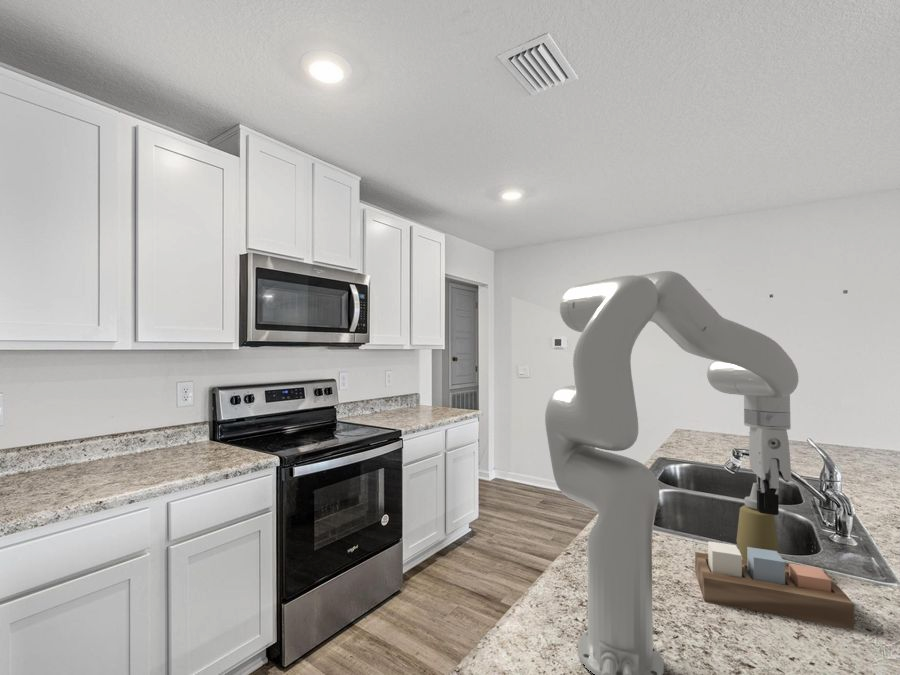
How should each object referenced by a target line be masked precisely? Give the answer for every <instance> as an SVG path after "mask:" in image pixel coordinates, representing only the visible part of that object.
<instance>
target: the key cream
mask: <svg viewBox="0 0 900 675" xmlns="http://www.w3.org/2000/svg"><path fill="white" fill-rule="evenodd" d="M707 554H708V567H709V570H710V572H713V573H719V574H725V575H731V576H737V577H742V555H741V553H740V551H739V548H738V545H735V544H730V543H725V542H724V543H721V542H717V541H707Z"/></svg>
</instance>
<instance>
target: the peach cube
mask: <svg viewBox="0 0 900 675" xmlns="http://www.w3.org/2000/svg"><path fill="white" fill-rule="evenodd" d="M788 566H789V578H790V579H791V581H792V582H793V583H794V585H795V586H796V587H802V588H808V589H814V590H820V591H826V592H831V580H830V579H829V578H828V576H827V575H826V574H825V573H824V572H825V571H823V570H822V569H821V568H820V567H815V566H809V565H802V564H796V563H788Z"/></svg>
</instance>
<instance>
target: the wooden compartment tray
mask: <svg viewBox="0 0 900 675" xmlns="http://www.w3.org/2000/svg"><path fill="white" fill-rule="evenodd" d="M694 562H695V564H694V566H695V568H694V571H695V576H696V578H697V583H698V586H699V588H700V592H701V595H702V598H703V602H706V603H710V604H711V603H712V604H715V605H721V606H722V605H723V606H728V607H732V608H738V609H743V610H748V611H752V612H753V611H754V612H757V613H758V612H759V613H765V614H771V615H775V616H780V617H786V618H791V619H795V620H796V619H797V620H799V621H801V620H802V621H806V622H810V623H811V622H812V623H816V624H817V623H818V624H822V625H823V624H824V625H827V626H832V627H838V628H843V629H849V630H854V631H855V603H854V602H853V600H851V598H850V597H848V595H847V594H846V593H845V592H844V590H842V588H840V586H839V585H838V584H837V583H836V582H835V581H834V579H833V578H831V577H830V575H829V574H828V573H827V572H826V571H823V572H824V573H825V574H826V575H827V576H828V578H829V579H830V580H831V592H826V591H820V590H814V589H808V588H802V587H796V586H795V585H794V583H793V582H792V581H791V579H790V578H789V565H785V585H784V584H778V583H772V582H767V581H761V580H755V579H751V577H750V575H749V573H748V568H747V560H745V559H742V577H737V576H731V575H725V574H719V573H713V572H710V570H709V567H708V553H705V552H698V551H695V552H694Z"/></svg>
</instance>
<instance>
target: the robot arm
mask: <svg viewBox="0 0 900 675" xmlns="http://www.w3.org/2000/svg"><path fill="white" fill-rule="evenodd" d="M559 304H560V305H559V313H560V314H559V315H560V317H561V319H562V321H563V322H564V324H565V325H566V326H567V327H568V328H569V329H571V330H572V331H575V332H579V333H581V334H580V336H579V338H578V340H577V342H576V345H575V349H574V351H573V352H574V353H573V358H572V359H573V360H572V361H573V362H572V364H573V365H572V366H573V377H574V385H566V386H563V387H560V388H559V389H557V390H556V391H554V393H553V394H552V395H551V396H550V398H549V399H548V402H547V405H546V409H545V414H544V418H545V419H544V422H545V423H544V424H545V431H546V437H547V444H548V450H549V457H550V462H551V467H552V473H553V478H554V481H555V484H556V486H557V488H558V489H559V491H560V492H561V493H562V494H563V495H564V496H566V497H567V498H569V499H571V500H572V501H575V502H577V503H579V504H582V505H583V506H585V507H587V508H590V509H592V510H593V511H595V512H597V519H596V521H595V522H594V525H593V527H592V528H591V530H590V531H589V534H588V537H587V543H586V544H587V546H586V548H587V552H586V554H587V631H586V632H584V633H583V634H582V635H580V637H579V639H578V641H577V655H578V659H579V660H580V663H581V664H582V665H583V664H584V665H585V666H584V665H583V666H584V668H585V669H586V668H587V669H588V670H589V671H588V670H587V669H586V670H587V671H588V672H590V671H591V672H592V673H593V674H595V675H663V674H664V675H665V662H664V658H663V657H662V655H661V654H660V652H659V651H658V650H657V648H656V647H655V646H654V644H653V643H654V642H653V641H654V640H653V639H654V638H653V636H654V635H653V633H654V632H653V630H654V629H653V622H654V621H653V537H654V536H653V534H654V523H655V520H656V519H655V518H656V514H657V509H658V503H659V498H660V486H659V485H660V484H659V482H658V479H657V478H656V476H655V474H654V473H653V471H652V470H651V469H650V468H648V466H646V465H645V464H643V463H642V462H640V461H638V460H636V459H633V458H630V457H627V456H624V455H622V454H621V455H620V454H616V453H613V452H622V451H625V450H628V449H630V448H632V447H633V446H634V444H635V443H636V442H637V440H638V435H639V417H638V411H637V403H636V397H635V396H636V395H635V389H634V382H633V377H632V367H631V366H632V365H631V364H632V363H631V361H632V359H631V358H632V352H633V349H634V346H635V343H636V341H637V339H638V337H639V336H640V334H641V333H642V331H643V330H644V329H645V326H646V325H647V324H648V323H649V322H652V323H655V324H656V325H657V326H658V327H659V328H660V329H661V330H662V331H663V332H664V333H665V334H666V335H667V336H668V337H669V338H670V339H672V341H674V342H675V343H676V344H677V345H678V347H679V348H681V349H682V350H683V351H684V352H687V353H688V354H691V355H694V356H697V357H699V358H703V359H704V358H705V359H708V360H712V362H711V363H710V364H709V365H708V367H707V372H706V374H707V375H706V376H707V377H706V378H707V380H708V383H709V384H710V386H711V387H712V388H714V390H716V391H718V392H720V393H723V394H727V395H728V394H729V395H738V396H740V395H741V396H743V425H744V426H745V427H749V434H748V437H749V438H748V440H749V441H748V443H749V444H748V452H749V454H748V460H749V466H750V469H751V472H753V473H754V474H755V475H756V483H757V489H758V490H757V510H758V511H759V512H760V513H764V514H771V515H774V516H778V515H779V514H780V512H779V489H780V481H779V480H780V479H781V480H783V481H784V482H785V483H790V482H791V481H792V469H791V468H792V467H791V465H792V464H791V453H790V452H791V451H790V443H789V435H788V431H787V430H791V427H792V426H791V395H792V394H793V393H794V392H795V391H796V389H797V387H798V384H799V372H798V368H797V367H796V364H795V363H794V361H793V360H792V358H791V357H790V355H788V353H787V352H786V351H785V350H784V348H783V347H782V346H781V345H780V344H779V343H778V342H777V341H775V339H773V338H772V337H769V336H767V335H766V334H764V333H761V332H759V331H757V330H755V329H752V328H750V327H747V326H745V325H743V324H740V323H738V322H737V321H733V320H730V319H727V318H724V317H723V316H722V315H721V314H719V312H718V311H717V310H716V309H715V308H714V307H713V306H712V305H711V303H710V302H708V301H707V300H706V298H705V297H704V296H703V295H702V294H701V293H700V292H699V291H698V290H697V288H695V286H693V285H692V283H691V282H690V281H689V280H688V278H686V277H685V276H683V274H681V273H679V272H676V271H669V270H668V271H667V270H666V271H665V270H664V271H655V272H650V273H645V274H639V275H633V274H632V275H623V276H616V277H612V278H605V279H601V280H596V281H592V282H586V283H582V284H577V285H574V286H572V287H570V288H569V289H568V290H567V291H566V292H565V293H564V294H563V296H562V297H561V300H560V303H559ZM610 451H611V452H610ZM591 672H590V673H591ZM592 673H591V674H592ZM593 674H592V675H593Z"/></svg>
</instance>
